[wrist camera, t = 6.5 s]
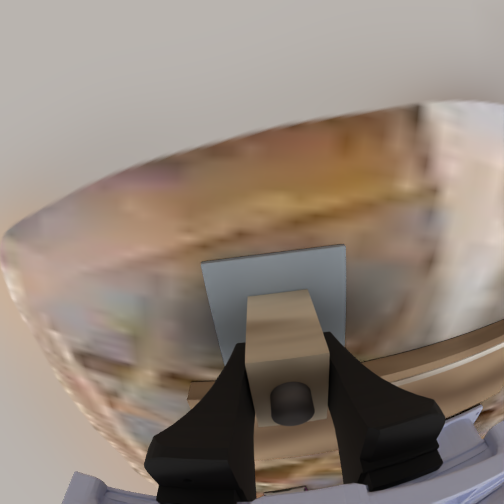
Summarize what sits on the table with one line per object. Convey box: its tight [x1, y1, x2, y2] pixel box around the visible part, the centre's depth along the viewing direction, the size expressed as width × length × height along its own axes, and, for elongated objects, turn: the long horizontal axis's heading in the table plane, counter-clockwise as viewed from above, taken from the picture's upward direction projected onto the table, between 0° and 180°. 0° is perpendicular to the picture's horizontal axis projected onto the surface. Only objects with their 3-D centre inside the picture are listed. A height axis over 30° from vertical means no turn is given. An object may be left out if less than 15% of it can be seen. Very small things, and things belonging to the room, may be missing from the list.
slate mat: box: [201, 244, 346, 365], centre depth 15 cm, size 7×7×1 cm
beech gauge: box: [245, 289, 330, 427], centre depth 12 cm, size 4×3×6 cm
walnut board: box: [187, 320, 504, 461], centre depth 17 cm, size 8×26×2 cm, turn 98°
